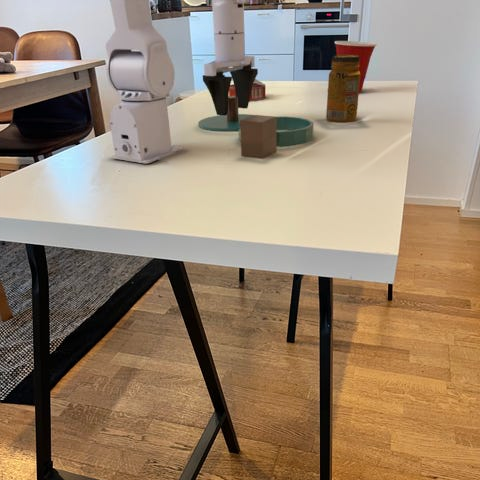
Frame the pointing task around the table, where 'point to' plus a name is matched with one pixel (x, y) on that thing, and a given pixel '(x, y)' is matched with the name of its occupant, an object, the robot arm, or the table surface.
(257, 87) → the canned food
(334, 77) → the condiment
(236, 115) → the lid
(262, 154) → the block
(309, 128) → the tin
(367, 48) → the plastic cup
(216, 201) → the table surface
